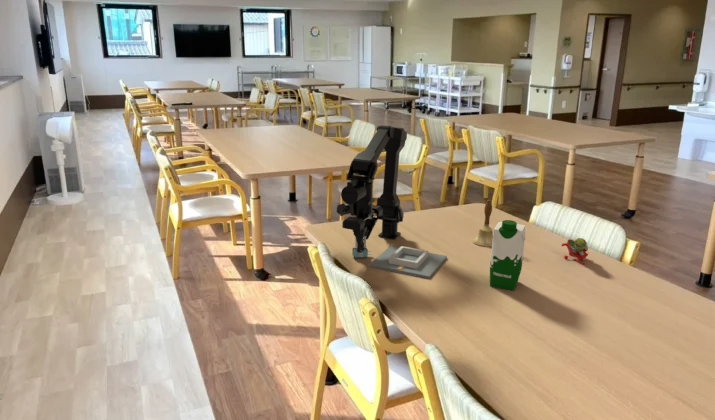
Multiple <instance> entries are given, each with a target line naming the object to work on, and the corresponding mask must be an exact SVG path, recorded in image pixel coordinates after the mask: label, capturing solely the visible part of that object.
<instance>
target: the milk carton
mask: <svg viewBox="0 0 715 420" xmlns="http://www.w3.org/2000/svg"><path fill="white" fill-rule="evenodd" d="M525 242H526V225H525V224H520V223H518V222H517V221H515V220H511V219H509V220H508V219H505V220H502V221H499V222H498V223H497V224H496V225H495V227H494V229H493V241H492V247H491V251H490V252H491V253H490V264H489V286H490V287H493V288H497V289H504V290H509V291H515V290H516V287H517V284H518V282H519V279H520V275H521V272H522V267H523V260H524V251H525V250H524V249H525Z"/></svg>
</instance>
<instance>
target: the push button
mask: <svg viewBox="0 0 715 420" xmlns="http://www.w3.org/2000/svg"><path fill="white" fill-rule="evenodd" d="M368 232H369V230H368V229H366V232H365V235H364V238H363V241H362V243H361V245H359V244H357V240H356V237H355V234H354V233H353V236H354V237H355V238H354V246H353V247H352V253H351V255H352V256H353V258H368V256H369V255H372V253H373V250H368V246H367V239H366V236H367V235H368Z"/></svg>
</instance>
